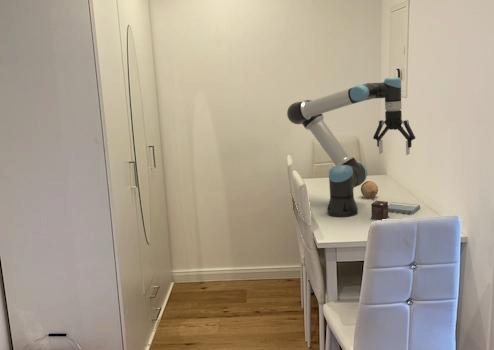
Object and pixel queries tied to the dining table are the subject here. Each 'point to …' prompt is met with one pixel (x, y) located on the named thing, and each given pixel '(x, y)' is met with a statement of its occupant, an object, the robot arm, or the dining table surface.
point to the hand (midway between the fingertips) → (394, 153)
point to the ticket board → (403, 208)
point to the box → (379, 209)
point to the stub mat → (380, 219)
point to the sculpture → (369, 189)
